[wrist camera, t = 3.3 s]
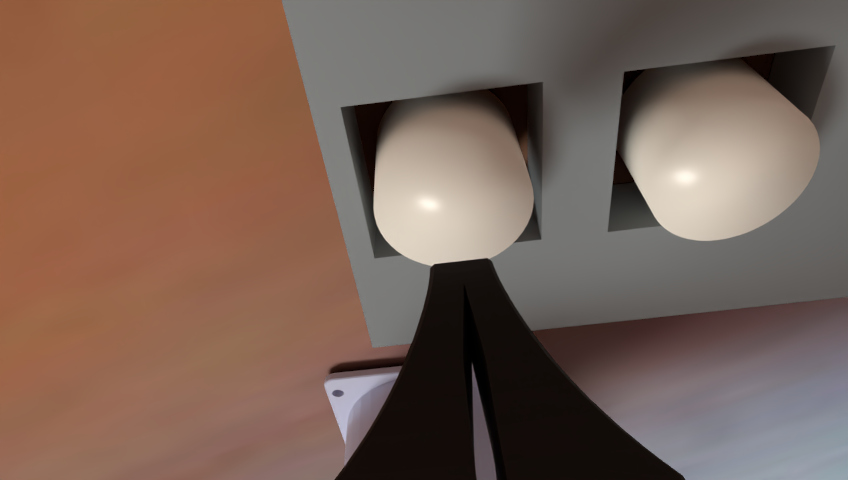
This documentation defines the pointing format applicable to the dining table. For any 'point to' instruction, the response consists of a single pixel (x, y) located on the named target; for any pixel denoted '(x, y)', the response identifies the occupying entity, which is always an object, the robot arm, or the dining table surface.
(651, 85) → the middle knob
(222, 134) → the dining table surface
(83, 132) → the dining table surface
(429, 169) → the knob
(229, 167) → the dining table surface
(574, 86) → the console
